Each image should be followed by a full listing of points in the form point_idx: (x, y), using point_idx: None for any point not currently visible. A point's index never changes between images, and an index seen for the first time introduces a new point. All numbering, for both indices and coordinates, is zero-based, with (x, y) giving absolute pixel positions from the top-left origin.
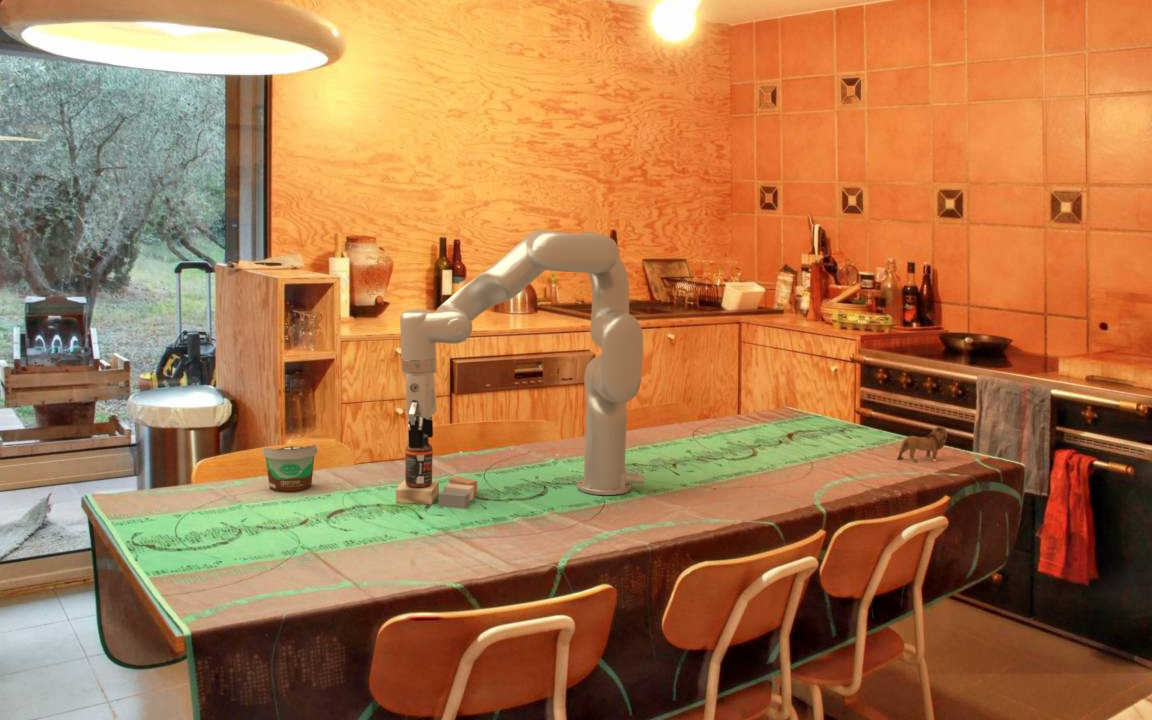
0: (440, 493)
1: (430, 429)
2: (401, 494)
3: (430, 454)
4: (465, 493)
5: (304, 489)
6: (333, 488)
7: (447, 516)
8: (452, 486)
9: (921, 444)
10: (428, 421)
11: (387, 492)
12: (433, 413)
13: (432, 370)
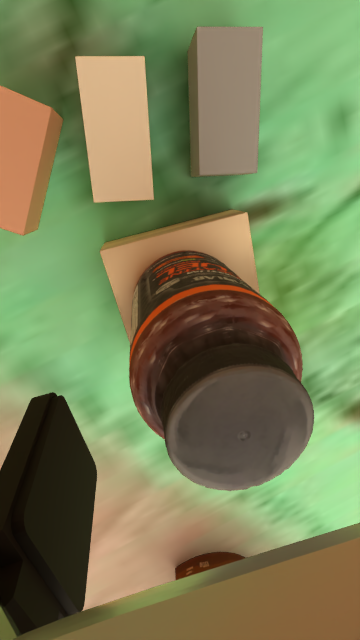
0: (252, 167)
1: (49, 447)
2: None
3: (225, 283)
4: (214, 45)
5: (226, 554)
6: (183, 519)
7: (351, 82)
8: (132, 163)
9: None
10: (37, 541)
11: None
12: (327, 578)
13: None
